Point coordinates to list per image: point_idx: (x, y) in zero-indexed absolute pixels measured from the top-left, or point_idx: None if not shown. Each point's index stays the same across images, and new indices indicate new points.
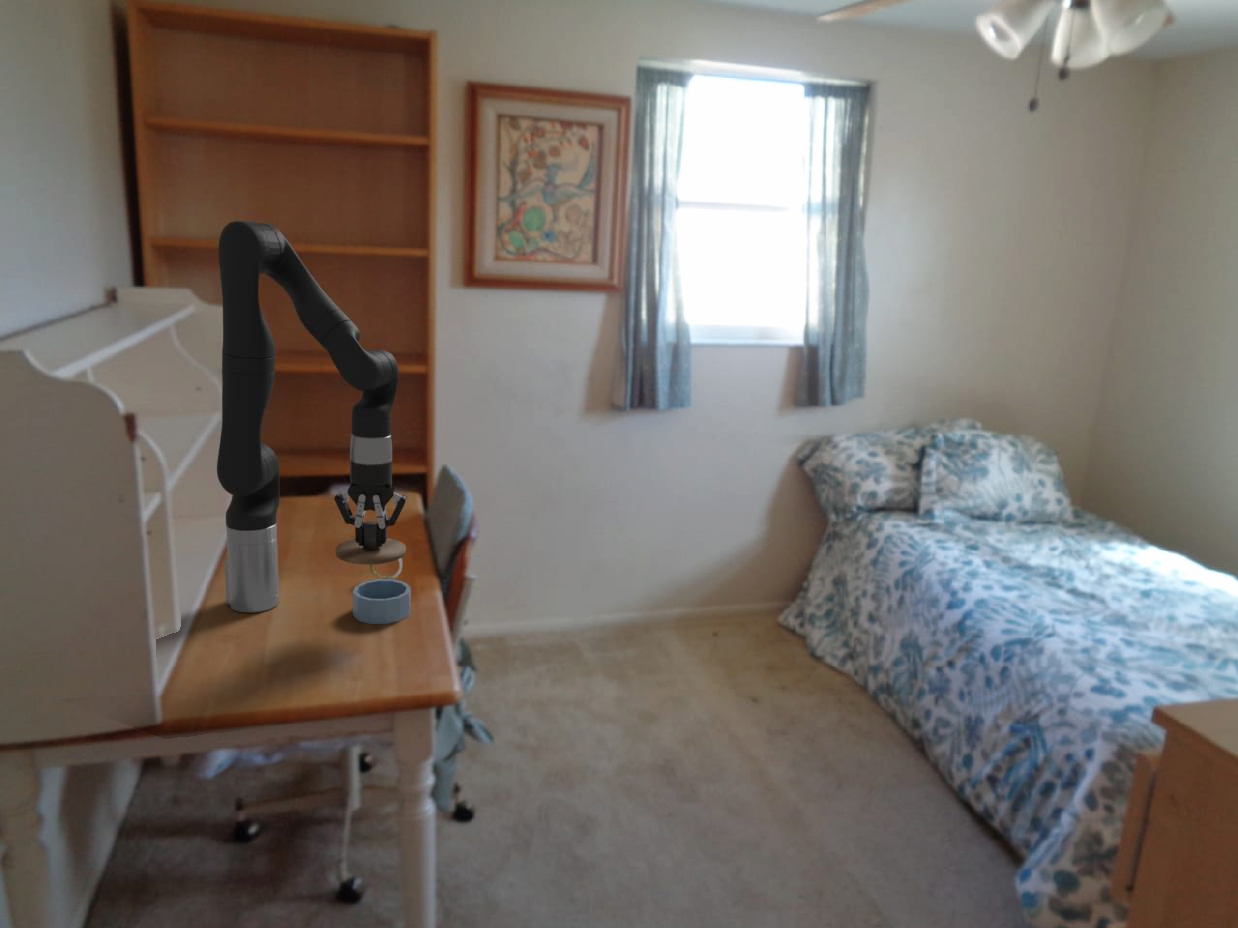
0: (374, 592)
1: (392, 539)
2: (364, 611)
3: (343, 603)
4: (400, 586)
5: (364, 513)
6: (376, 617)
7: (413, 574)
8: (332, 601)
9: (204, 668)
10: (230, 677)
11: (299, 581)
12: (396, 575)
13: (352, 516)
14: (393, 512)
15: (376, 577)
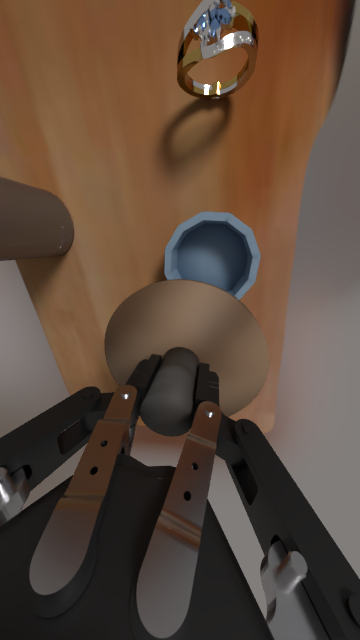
0: (197, 226)
1: (235, 301)
2: None
3: (154, 223)
4: (242, 234)
5: (128, 434)
6: None
7: (279, 32)
8: (138, 215)
9: (73, 368)
10: (97, 384)
11: (66, 114)
12: (237, 87)
13: (93, 418)
14: (249, 518)
15: (195, 96)
